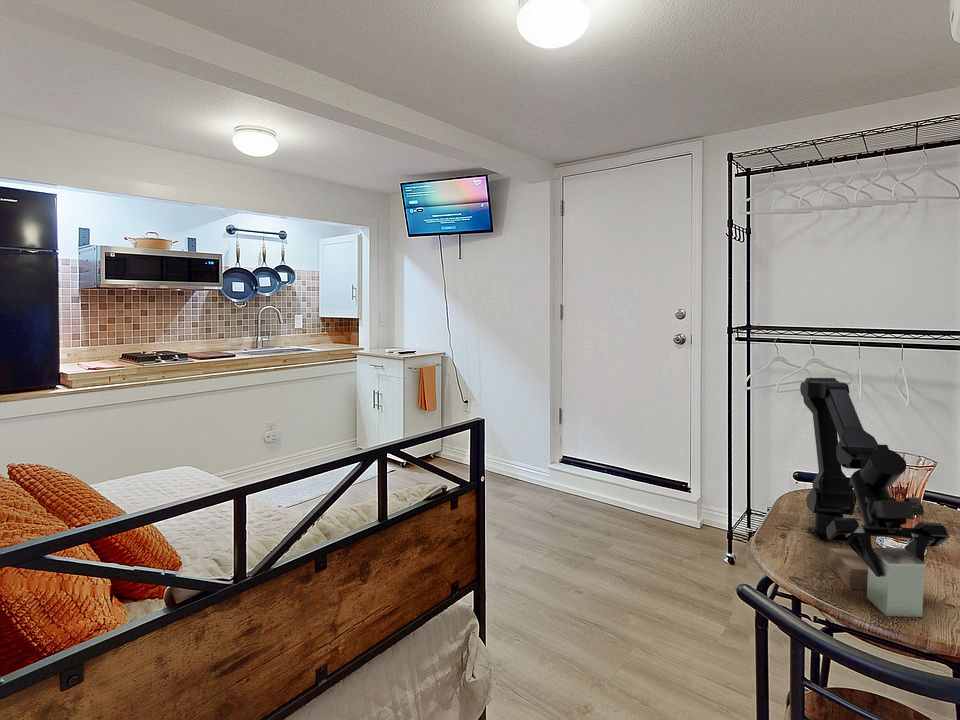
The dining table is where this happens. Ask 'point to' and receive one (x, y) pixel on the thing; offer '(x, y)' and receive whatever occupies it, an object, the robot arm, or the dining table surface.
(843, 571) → the walnut box
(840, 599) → the dining table surface
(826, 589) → the dining table surface
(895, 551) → the tea tin
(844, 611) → the dining table surface
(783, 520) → the dining table surface
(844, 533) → the robot arm
